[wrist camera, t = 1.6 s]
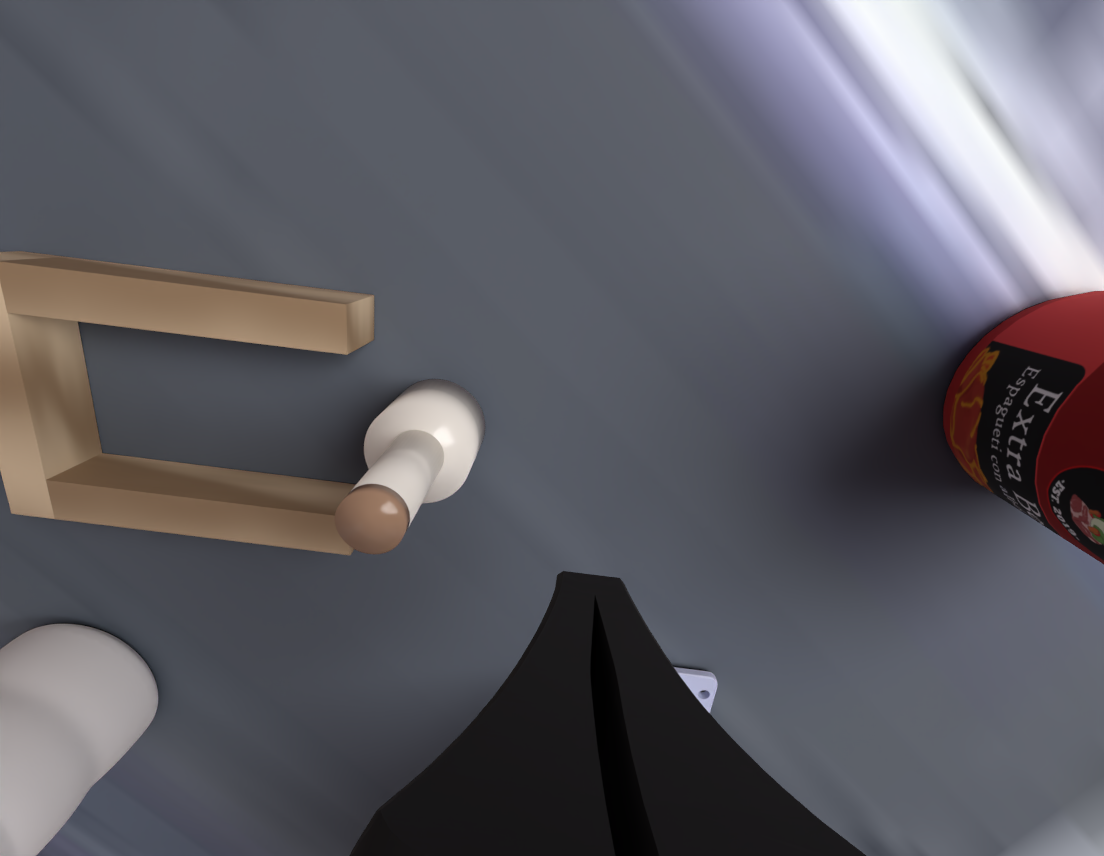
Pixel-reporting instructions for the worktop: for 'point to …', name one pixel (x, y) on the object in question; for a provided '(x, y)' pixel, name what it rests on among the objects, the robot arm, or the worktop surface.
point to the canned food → (1038, 416)
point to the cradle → (68, 413)
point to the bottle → (411, 462)
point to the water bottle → (63, 725)
